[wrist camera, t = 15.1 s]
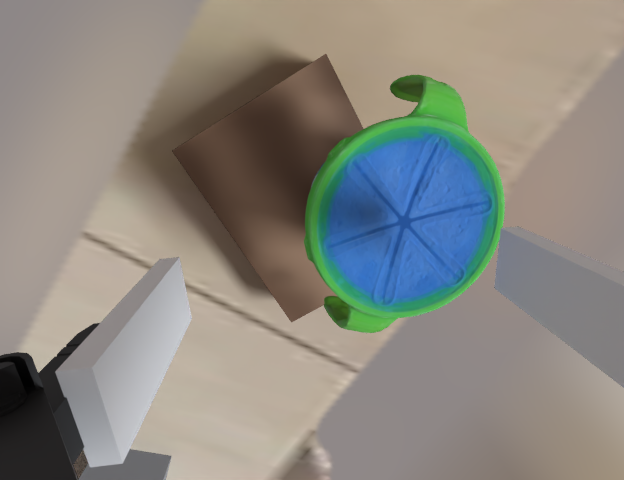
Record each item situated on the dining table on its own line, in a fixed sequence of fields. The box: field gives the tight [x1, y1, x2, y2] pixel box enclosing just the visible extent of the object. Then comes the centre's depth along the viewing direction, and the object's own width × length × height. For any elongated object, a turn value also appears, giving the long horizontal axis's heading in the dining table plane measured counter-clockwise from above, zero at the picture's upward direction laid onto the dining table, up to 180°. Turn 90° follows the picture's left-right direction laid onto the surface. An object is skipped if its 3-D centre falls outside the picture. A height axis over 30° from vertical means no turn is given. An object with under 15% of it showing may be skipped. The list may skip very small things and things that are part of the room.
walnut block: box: [172, 54, 363, 322], centre depth 30 cm, size 13×17×5 cm
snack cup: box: [304, 75, 505, 333], centre depth 22 cm, size 16×11×10 cm
